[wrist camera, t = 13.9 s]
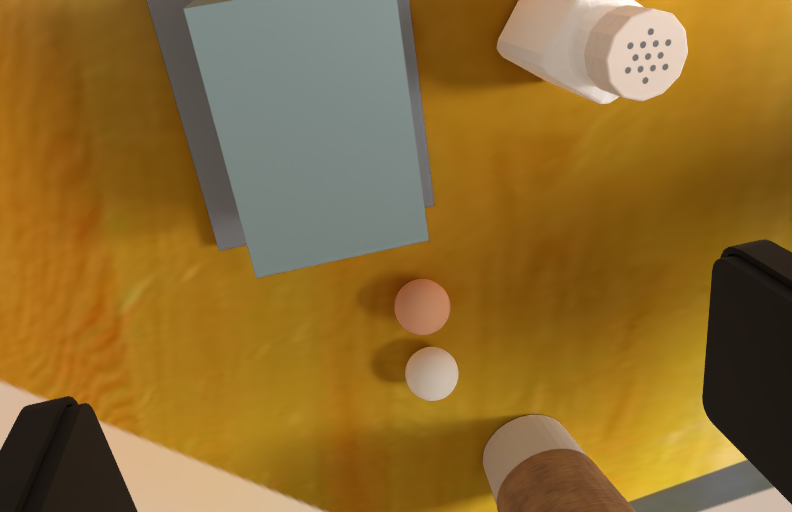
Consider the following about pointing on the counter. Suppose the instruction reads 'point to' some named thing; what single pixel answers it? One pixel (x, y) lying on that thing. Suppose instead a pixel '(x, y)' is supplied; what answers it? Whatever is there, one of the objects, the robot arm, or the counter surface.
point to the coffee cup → (545, 471)
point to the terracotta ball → (422, 307)
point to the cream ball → (431, 373)
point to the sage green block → (312, 126)
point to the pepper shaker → (596, 47)
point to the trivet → (201, 130)
